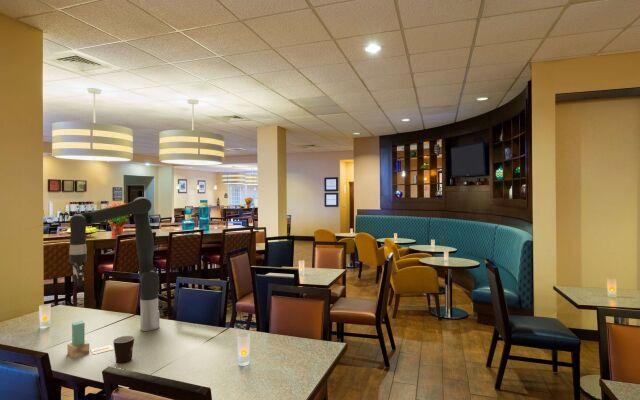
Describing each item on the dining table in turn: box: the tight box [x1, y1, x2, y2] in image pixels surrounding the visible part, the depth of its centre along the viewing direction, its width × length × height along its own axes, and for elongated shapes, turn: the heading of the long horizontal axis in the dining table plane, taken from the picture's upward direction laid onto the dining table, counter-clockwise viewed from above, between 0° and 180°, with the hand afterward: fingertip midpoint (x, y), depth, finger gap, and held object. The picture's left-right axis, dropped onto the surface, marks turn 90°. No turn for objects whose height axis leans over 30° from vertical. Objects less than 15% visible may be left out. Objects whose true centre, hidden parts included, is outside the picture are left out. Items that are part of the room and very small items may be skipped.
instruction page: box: [89, 344, 115, 355], centre depth 186 cm, size 9×7×1 cm
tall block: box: [71, 320, 86, 346], centre depth 182 cm, size 4×4×10 cm
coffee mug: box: [112, 335, 135, 365], centre depth 175 cm, size 12×9×10 cm
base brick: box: [66, 340, 90, 359], centre depth 182 cm, size 7×7×5 cm
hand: (78, 284), depth 196 cm, fingers open, 8 cm apart
